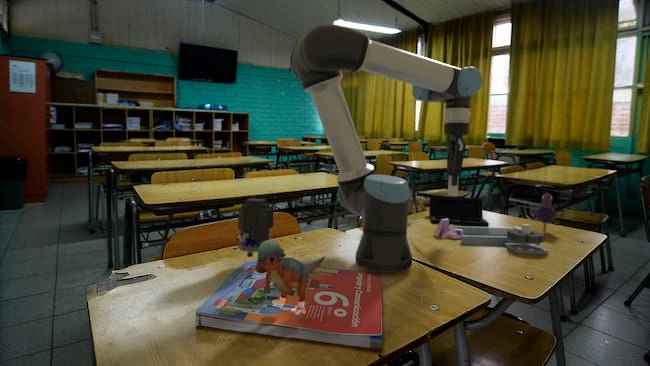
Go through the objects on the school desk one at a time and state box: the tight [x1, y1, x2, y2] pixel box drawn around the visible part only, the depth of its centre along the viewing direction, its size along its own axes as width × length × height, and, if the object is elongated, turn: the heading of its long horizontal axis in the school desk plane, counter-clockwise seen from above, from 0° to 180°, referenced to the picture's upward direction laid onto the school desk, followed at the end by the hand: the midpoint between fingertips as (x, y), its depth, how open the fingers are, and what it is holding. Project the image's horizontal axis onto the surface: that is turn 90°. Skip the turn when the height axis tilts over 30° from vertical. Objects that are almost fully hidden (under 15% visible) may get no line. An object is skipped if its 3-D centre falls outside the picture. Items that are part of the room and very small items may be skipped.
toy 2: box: [254, 239, 326, 302], centre depth 75 cm, size 19×11×15 cm, turn 116°
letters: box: [432, 219, 464, 240], centre depth 129 cm, size 8×7×6 cm
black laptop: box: [428, 195, 490, 227], centre depth 153 cm, size 21×16×10 cm
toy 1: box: [237, 197, 274, 258], centre depth 100 cm, size 9×9×15 cm
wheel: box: [506, 228, 546, 244], centre depth 114 cm, size 10×10×2 cm
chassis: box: [455, 223, 549, 255], centre depth 122 cm, size 24×25×8 cm
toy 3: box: [534, 192, 559, 233], centre depth 137 cm, size 11×12×7 cm
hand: (452, 195), depth 125 cm, fingers closed
